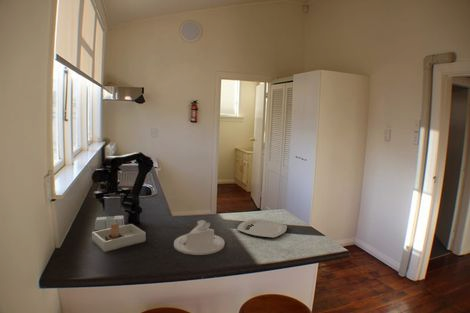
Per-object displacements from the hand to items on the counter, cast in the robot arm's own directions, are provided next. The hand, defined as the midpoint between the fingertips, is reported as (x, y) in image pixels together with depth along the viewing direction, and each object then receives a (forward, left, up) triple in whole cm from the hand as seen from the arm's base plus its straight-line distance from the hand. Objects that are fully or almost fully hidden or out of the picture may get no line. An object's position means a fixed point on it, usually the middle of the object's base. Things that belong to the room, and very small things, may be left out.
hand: (112, 208), depth 160 cm
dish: (-26, +43, -12) cm, 52 cm away
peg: (+5, +16, -11) cm, 20 cm away
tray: (+3, +16, -12) cm, 20 cm away
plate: (-66, +49, -13) cm, 83 cm away
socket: (+5, +16, -12) cm, 21 cm away
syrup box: (+6, -8, -9) cm, 13 cm away
